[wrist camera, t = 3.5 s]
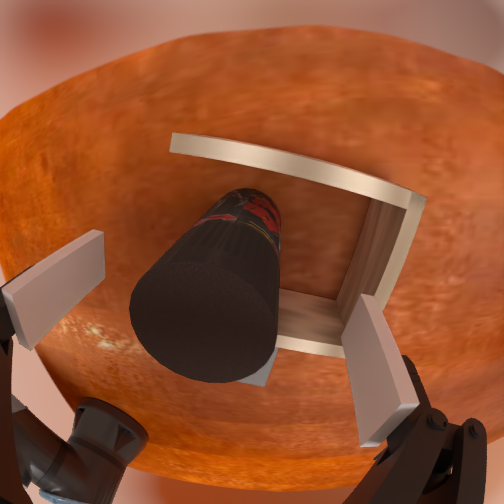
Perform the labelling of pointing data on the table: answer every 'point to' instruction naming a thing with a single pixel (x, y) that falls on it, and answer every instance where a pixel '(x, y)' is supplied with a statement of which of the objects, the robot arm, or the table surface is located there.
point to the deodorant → (215, 293)
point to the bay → (366, 252)
